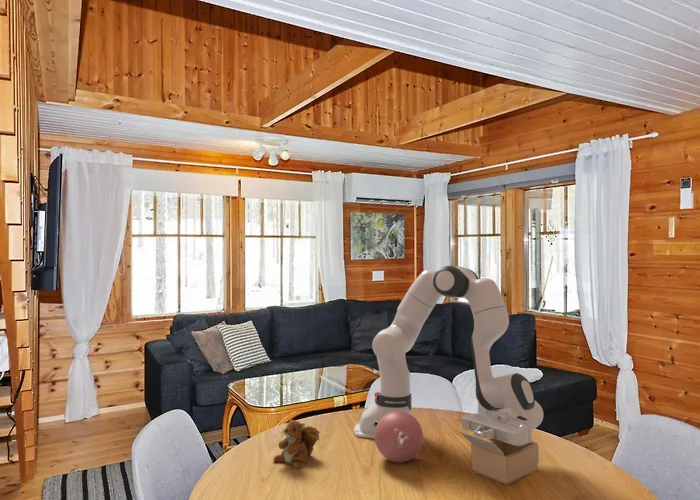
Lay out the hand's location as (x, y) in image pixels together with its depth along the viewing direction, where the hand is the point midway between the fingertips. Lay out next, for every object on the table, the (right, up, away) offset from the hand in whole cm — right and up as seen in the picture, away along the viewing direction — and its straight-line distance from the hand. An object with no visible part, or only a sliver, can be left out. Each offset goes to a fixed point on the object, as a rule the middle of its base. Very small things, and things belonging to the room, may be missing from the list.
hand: (477, 434), depth 144 cm
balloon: (-21, -14, +14) cm, 29 cm away
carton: (+10, -14, +8) cm, 19 cm away
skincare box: (+17, -14, +50) cm, 54 cm away
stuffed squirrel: (-53, -15, +18) cm, 58 cm away
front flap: (+2, -3, +1) cm, 3 cm away
